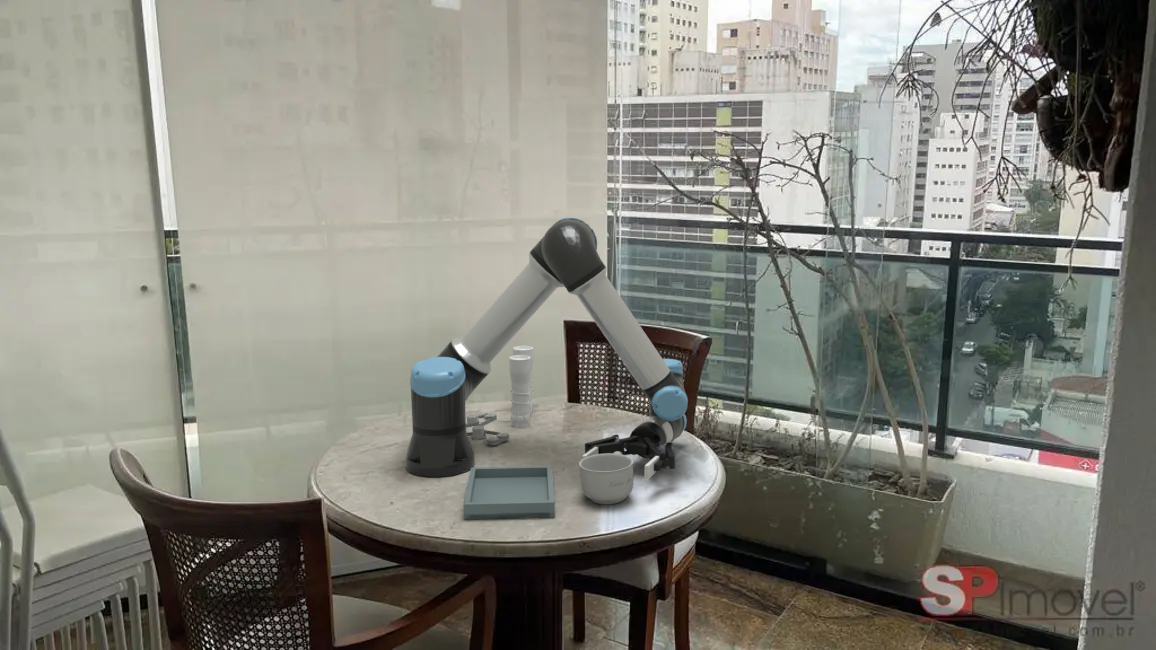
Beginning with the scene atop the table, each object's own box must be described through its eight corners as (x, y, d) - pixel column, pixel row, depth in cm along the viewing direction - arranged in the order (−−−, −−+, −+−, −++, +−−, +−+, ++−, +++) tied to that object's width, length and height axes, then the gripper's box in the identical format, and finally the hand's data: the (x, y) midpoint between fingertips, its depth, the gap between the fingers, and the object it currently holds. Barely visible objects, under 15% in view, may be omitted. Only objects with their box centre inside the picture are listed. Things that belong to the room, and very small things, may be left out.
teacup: (616, 513, 160) (616, 473, 159) (568, 502, 166) (568, 463, 164) (649, 490, 172) (650, 453, 170) (604, 480, 177) (604, 444, 176)
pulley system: (449, 455, 196) (512, 446, 200) (447, 435, 196) (510, 427, 199) (439, 425, 223) (495, 418, 226) (437, 408, 222) (493, 401, 225)
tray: (464, 519, 157) (463, 504, 157) (471, 481, 177) (471, 467, 176) (554, 517, 158) (554, 502, 158) (551, 479, 178) (551, 465, 177)
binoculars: (530, 428, 213) (529, 359, 210) (509, 428, 213) (508, 359, 210) (534, 409, 230) (533, 345, 227) (514, 409, 230) (513, 345, 227)
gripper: (704, 461, 183) (673, 495, 164) (599, 446, 193) (559, 475, 174) (705, 428, 181) (673, 458, 162) (600, 414, 192) (558, 441, 173)
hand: (614, 467), depth 168 cm, fingers open, 13 cm apart
